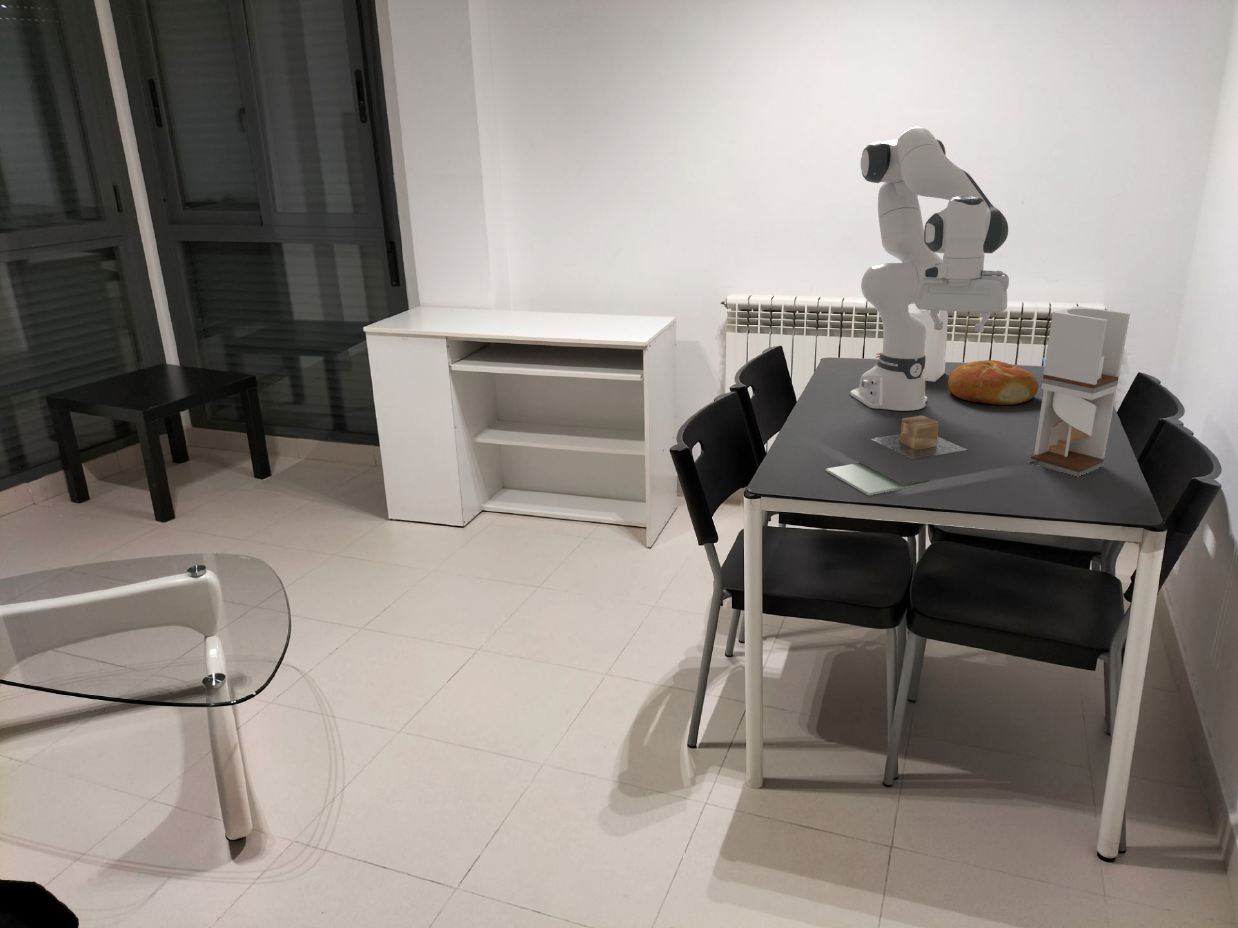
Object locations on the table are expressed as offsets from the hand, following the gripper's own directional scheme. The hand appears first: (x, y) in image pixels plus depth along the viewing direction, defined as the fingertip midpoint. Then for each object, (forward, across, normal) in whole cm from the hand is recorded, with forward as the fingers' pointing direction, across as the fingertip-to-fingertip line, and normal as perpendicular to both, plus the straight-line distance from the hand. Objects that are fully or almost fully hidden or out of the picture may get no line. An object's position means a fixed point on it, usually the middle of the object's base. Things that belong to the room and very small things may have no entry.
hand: (958, 330), depth 213 cm
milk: (+24, +33, -62) cm, 74 cm away
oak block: (+27, +6, +5) cm, 28 cm away
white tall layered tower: (+30, -25, -6) cm, 39 cm away
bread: (+26, +8, -50) cm, 57 cm away
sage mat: (+30, +6, +28) cm, 41 cm away
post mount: (+28, +6, +5) cm, 29 cm away
